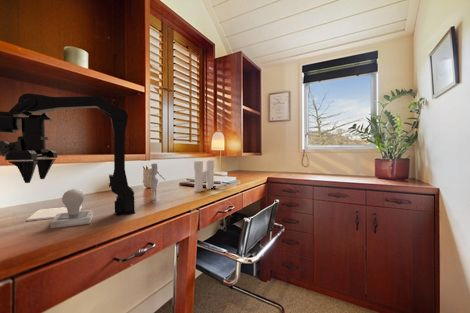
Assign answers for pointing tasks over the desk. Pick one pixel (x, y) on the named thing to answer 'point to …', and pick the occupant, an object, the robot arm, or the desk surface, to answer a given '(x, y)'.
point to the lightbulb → (73, 202)
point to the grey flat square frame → (59, 222)
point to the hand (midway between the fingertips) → (35, 180)
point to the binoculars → (204, 175)
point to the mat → (48, 213)
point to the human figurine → (153, 179)
